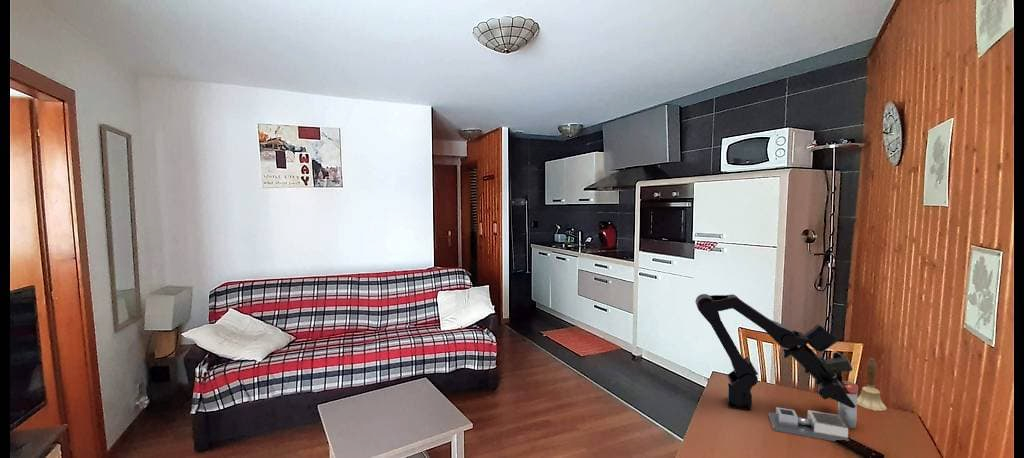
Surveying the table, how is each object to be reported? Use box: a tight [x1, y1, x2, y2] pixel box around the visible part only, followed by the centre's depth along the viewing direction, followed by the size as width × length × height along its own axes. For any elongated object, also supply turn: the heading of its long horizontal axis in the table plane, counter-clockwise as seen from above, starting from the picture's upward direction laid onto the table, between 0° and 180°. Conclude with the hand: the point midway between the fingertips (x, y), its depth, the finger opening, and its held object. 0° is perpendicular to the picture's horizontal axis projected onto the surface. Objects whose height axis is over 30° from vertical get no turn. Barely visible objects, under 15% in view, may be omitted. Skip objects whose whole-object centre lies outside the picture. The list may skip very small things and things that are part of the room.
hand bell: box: [857, 357, 888, 412], centre depth 135 cm, size 8×8×16 cm
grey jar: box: [837, 380, 859, 429], centre depth 124 cm, size 5×5×12 cm
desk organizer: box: [768, 406, 850, 442], centre depth 122 cm, size 18×9×4 cm, turn 66°
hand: (853, 404), depth 123 cm, fingers closed on grey jar, 4 cm apart
